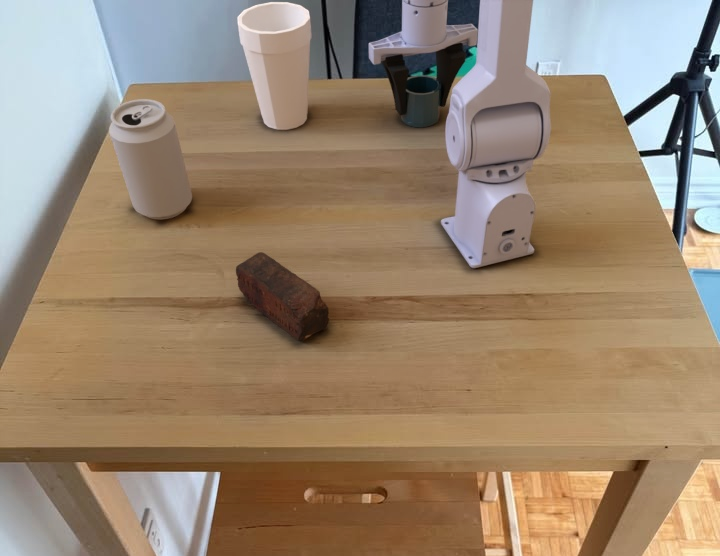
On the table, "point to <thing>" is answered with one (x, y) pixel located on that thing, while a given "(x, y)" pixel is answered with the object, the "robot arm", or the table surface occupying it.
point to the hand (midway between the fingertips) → (420, 107)
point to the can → (150, 158)
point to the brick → (282, 296)
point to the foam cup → (278, 60)
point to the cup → (422, 101)
